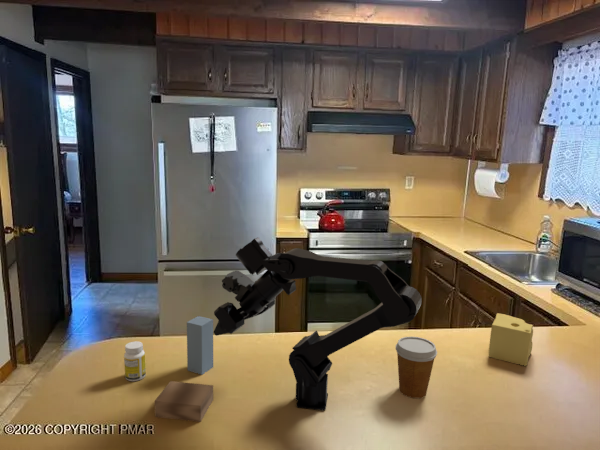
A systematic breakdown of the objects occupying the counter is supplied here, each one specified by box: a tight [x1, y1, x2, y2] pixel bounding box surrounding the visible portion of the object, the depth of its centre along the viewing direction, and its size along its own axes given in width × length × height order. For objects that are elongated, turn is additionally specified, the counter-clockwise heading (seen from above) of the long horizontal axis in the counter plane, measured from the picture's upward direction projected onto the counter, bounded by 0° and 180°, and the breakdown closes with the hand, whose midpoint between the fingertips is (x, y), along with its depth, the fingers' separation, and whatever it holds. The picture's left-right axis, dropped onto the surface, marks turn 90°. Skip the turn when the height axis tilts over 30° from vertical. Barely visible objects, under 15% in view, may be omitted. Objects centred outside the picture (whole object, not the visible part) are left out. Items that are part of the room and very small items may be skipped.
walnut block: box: [154, 380, 214, 423], centre depth 97 cm, size 10×8×4 cm
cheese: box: [488, 312, 534, 367], centre depth 126 cm, size 10×11×10 cm
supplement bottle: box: [123, 340, 147, 382], centre depth 109 cm, size 5×5×8 cm
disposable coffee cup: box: [395, 336, 438, 399], centre depth 106 cm, size 10×10×12 cm
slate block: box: [186, 315, 214, 376], centre depth 113 cm, size 5×5×13 cm
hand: (226, 326), depth 108 cm, fingers open, 9 cm apart
